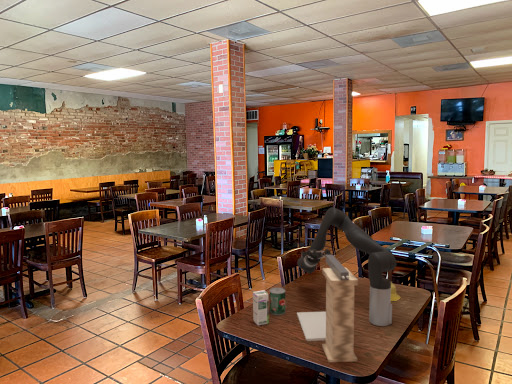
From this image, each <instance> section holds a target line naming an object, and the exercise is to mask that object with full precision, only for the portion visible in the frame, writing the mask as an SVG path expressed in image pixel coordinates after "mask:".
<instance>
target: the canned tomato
mask: <svg viewBox="0 0 512 384" xmlns="http://www.w3.org/2000/svg"><path fill="white" fill-rule="evenodd" d="M286 312H287V311H286V289H285V288H283V287H272V288H270V289H269V314H272V315H275V316H281V315H284V314H286Z"/></svg>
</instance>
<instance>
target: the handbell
mask: <svg viewBox="0 0 512 384" xmlns="http://www.w3.org/2000/svg"><path fill="white" fill-rule="evenodd" d="M390 252H391V251H390ZM391 253H392V254H393V252H391ZM392 275H393V270H391V271H387V276H386V278H387V279H389V280H390V281H391V301H397V300H399V299H400V298H401V296H400V295H399V294H398V293H397V288H396V287H397V286H396V285H395V284H394V283H393V281H392V280H393V279H392V278H393V276H392Z"/></svg>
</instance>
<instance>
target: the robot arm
mask: <svg viewBox="0 0 512 384" xmlns="http://www.w3.org/2000/svg"><path fill="white" fill-rule="evenodd" d="M330 226H334V227H335V228H337V229H338V230H339V229H340V231H342V232H343V233H344V235H345V238H346V240H347V241H348V243H350V245H351V246H353V248H354V249H356V250H358V251H361V252H364V253H366V254H368V255H369V256H368V259H367V264H368V265H367V269H368V271H367V272H368V280H369V309H368V310H369V313H368V314H369V315H368V319H369V320H368V321H369V323H371V324H372V325H373V326H379V327H387V326H390V325H393V324H392V323H393V321H392V320H393V304H392V302H391V281H390V280H389V279H387V277H384V276H383V273H386V272H387V273H388V271H391V270H392V271H393V270H395V268H396V267H397V259H396V258H395V255H394V254H393V252H392V253H391V251H389V250H388V249H387V248H385V247H384V246H382V245H381V244H379V243H378V242H377V241H376V240H375V239H374V238H372V237H371V236H370V235H369V234H368V233H367V232H366V231H365V230H364V229H362V228H361V227H360V226H358V225H357V224H356V223H354V222H353V221H352V220H351V219H350V217H349V216H348V215H347V214H346V213H345V212H344V211H342V210H340V209H338V208H336V207H333V206H332V207H329V208H328V209H327V210H326V212H325V214H324V216H323V218H322V221H321V222H320V226H319V228H318V230H317V233H316V236H315V238H314V239H313V241H312V243H311V244H310V246H309V248H308V250H306V251H304V250H303V251H301V253H300V255H301V256H300V257H299V258H298V259H297V262H296V265H297V267H298V268H299V269H300V270H302V271H304V272H306V273H307V274H312V273H314V272H315V270H316V267H317V265H318V264H319V263H320V261H322V259H323V258H326V255H332V254H331V250H329V249H328V248H325V247H326V244H327V233H328V230H329V228H330ZM324 249H325V250H324Z"/></svg>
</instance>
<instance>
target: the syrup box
mask: <svg viewBox="0 0 512 384" xmlns="http://www.w3.org/2000/svg"><path fill="white" fill-rule="evenodd" d="M252 312H253V317H252V318H253V322H254V323H255V325H256V326H261V325H268V324H270V295H269V293H268V291H266V290H265V289H263V290H257V291H252Z"/></svg>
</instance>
